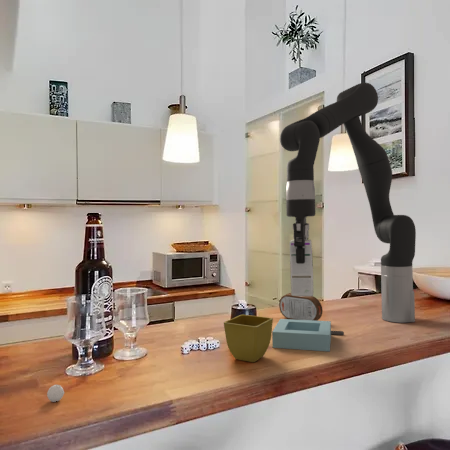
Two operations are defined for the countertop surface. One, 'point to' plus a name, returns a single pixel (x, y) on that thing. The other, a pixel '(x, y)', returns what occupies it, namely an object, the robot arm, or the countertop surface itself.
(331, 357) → the countertop surface
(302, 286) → the syrup box
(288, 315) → the tin
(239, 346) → the flower pot
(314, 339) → the teal square holder
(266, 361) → the countertop surface
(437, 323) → the countertop surface
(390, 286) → the robot arm
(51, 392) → the grey ball
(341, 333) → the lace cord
